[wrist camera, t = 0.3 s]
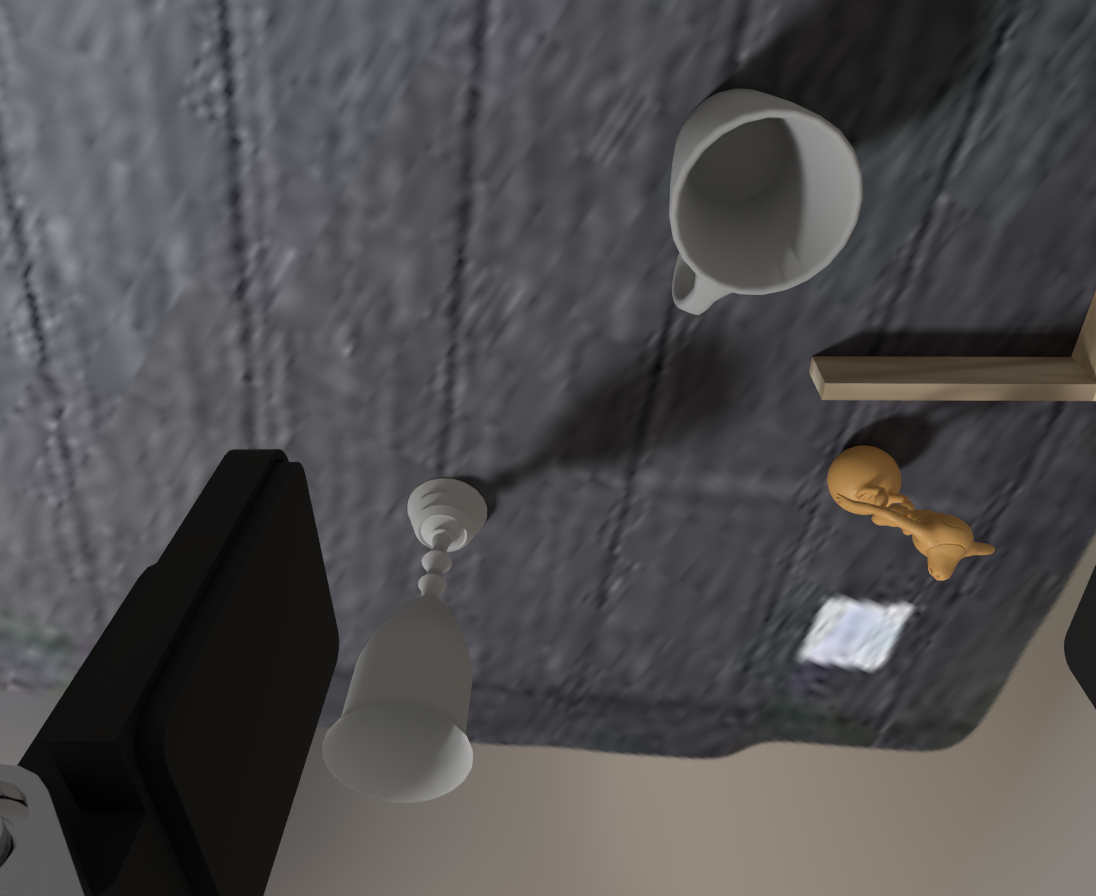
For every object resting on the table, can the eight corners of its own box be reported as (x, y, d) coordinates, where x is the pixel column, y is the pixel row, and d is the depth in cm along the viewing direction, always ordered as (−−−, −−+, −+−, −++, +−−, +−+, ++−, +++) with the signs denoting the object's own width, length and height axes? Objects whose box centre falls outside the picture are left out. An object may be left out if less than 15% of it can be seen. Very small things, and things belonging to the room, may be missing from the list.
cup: (846, 108, 40) (905, 159, 33) (735, 290, 45) (764, 368, 38) (703, 34, 38) (732, 71, 31) (605, 232, 43) (610, 302, 36)
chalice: (422, 446, 51) (359, 683, 36) (522, 492, 53) (501, 737, 38) (374, 528, 55) (299, 773, 40) (469, 568, 56) (431, 819, 41)
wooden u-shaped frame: (894, -97, 35) (918, -95, 33) (1266, -102, 35) (1319, -100, 32) (809, 372, 47) (822, 399, 45) (1083, 373, 47) (1111, 401, 45)
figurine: (776, 463, 51) (824, 606, 41) (830, 382, 48) (896, 516, 38) (895, 505, 52) (969, 653, 43) (955, 430, 49) (1050, 570, 39)
